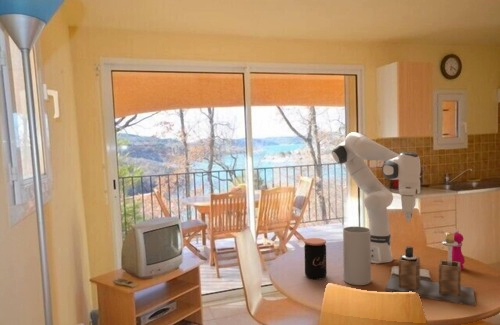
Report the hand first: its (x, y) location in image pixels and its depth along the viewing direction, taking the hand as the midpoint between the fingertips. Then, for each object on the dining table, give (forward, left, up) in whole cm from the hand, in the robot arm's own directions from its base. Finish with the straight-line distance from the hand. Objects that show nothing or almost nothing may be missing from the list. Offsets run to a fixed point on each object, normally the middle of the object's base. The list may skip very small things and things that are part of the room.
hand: (409, 219), depth 164 cm
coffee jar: (-43, -3, -32) cm, 53 cm away
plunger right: (+16, 0, -20) cm, 26 cm away
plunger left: (0, 0, -28) cm, 28 cm away
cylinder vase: (-23, -1, -32) cm, 39 cm away
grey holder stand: (+8, 0, -32) cm, 32 cm away
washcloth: (-1, +17, -32) cm, 36 cm away
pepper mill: (+19, +37, -32) cm, 52 cm away
